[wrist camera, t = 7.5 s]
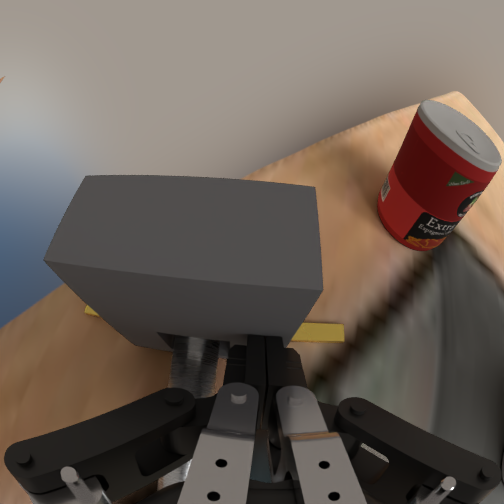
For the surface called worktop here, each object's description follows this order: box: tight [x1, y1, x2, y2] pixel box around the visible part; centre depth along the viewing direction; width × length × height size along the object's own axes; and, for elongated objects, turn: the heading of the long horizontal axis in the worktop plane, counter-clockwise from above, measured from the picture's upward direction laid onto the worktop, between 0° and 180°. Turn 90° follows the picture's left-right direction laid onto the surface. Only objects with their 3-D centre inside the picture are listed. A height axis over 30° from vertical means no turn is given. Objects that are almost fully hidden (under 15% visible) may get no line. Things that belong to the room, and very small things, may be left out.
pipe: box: [84, 305, 344, 491], centre depth 14 cm, size 23×18×4 cm
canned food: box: [377, 100, 502, 251], centre depth 20 cm, size 8×8×11 cm
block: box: [44, 175, 323, 359], centre depth 13 cm, size 4×9×11 cm, turn 86°
